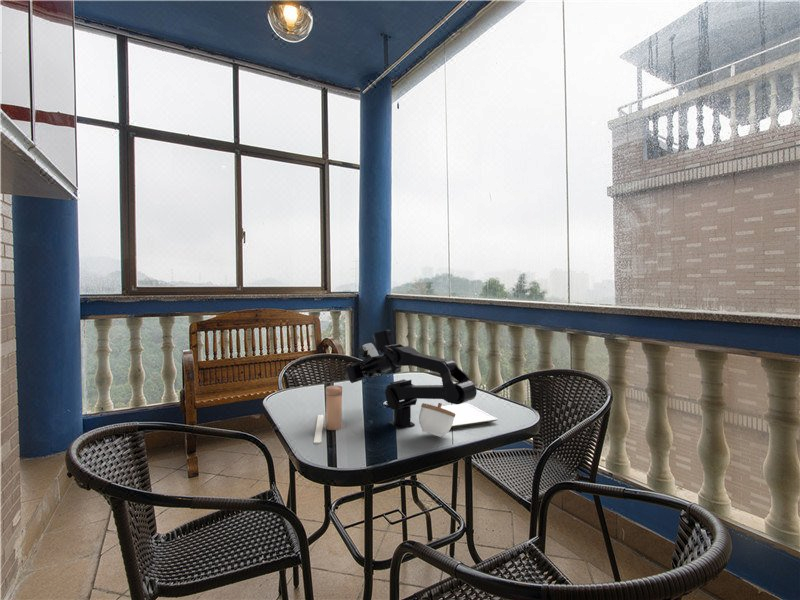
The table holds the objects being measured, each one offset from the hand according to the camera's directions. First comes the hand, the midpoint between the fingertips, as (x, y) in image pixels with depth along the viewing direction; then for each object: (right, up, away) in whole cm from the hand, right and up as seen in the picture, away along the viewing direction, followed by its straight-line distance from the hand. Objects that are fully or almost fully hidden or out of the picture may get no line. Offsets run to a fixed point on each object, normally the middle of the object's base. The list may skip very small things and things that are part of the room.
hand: (354, 374), depth 146 cm
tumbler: (-4, -14, -18) cm, 23 cm away
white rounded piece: (+26, -13, -27) cm, 40 cm away
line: (-9, -14, -19) cm, 25 cm away
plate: (+38, -14, -8) cm, 41 cm away
